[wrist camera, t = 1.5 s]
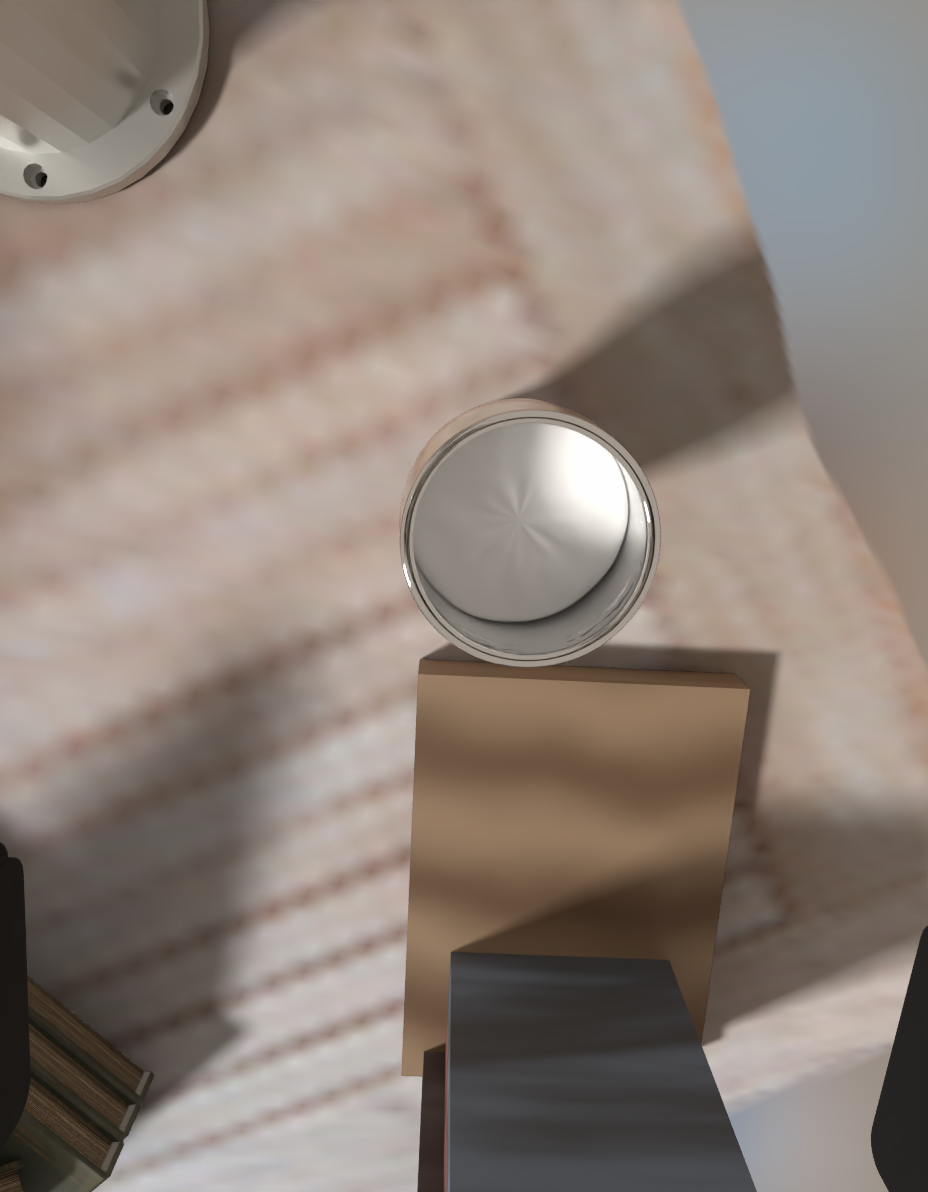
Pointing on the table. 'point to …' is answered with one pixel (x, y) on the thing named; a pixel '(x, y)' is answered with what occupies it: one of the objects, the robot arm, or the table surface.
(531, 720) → the bookend with books
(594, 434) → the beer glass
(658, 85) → the table surface
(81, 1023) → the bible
